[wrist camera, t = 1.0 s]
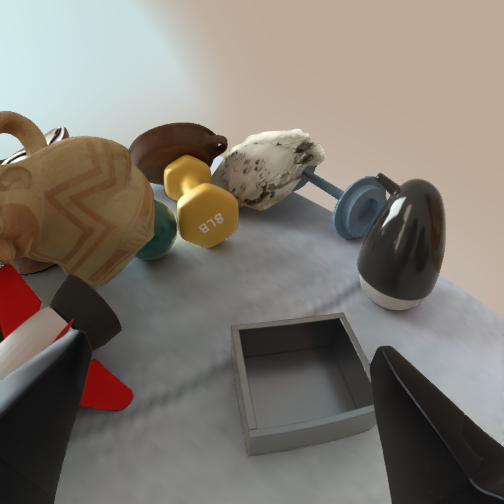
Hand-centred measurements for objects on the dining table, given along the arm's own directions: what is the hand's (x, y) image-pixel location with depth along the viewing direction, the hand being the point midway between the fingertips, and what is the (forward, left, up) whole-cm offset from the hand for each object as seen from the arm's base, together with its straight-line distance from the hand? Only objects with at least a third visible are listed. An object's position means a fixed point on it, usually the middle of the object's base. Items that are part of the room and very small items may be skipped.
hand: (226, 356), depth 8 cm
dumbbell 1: (+38, +3, -8) cm, 39 cm away
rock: (+42, -4, -16) cm, 45 cm away
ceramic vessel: (+27, +10, -10) cm, 31 cm away
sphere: (+28, +11, -10) cm, 32 cm away
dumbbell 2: (+40, -19, -6) cm, 45 cm away
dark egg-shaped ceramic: (+18, -21, -17) cm, 33 cm away
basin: (+7, -6, -16) cm, 19 cm away
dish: (+51, +5, -12) cm, 52 cm away
